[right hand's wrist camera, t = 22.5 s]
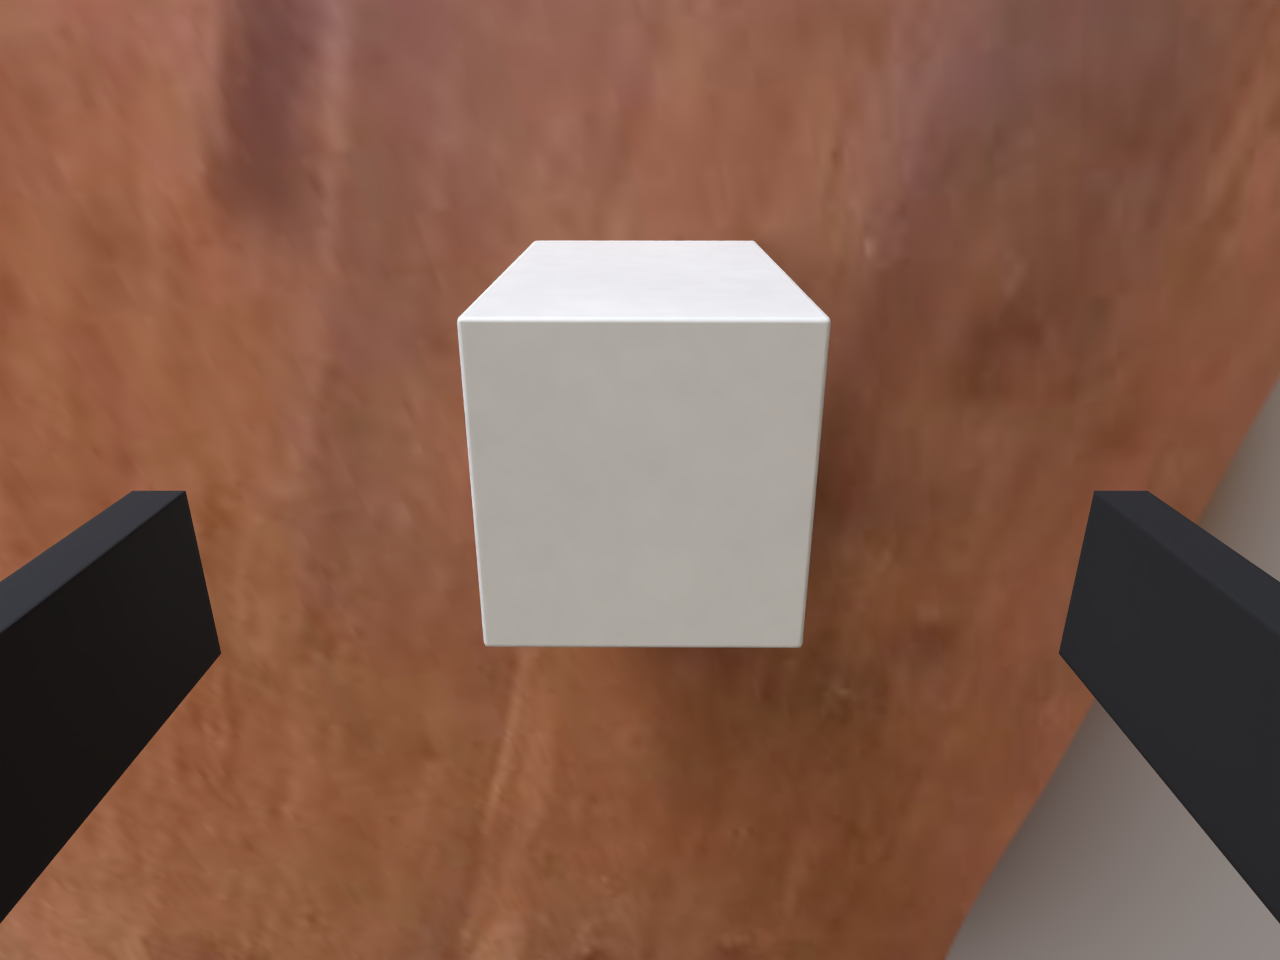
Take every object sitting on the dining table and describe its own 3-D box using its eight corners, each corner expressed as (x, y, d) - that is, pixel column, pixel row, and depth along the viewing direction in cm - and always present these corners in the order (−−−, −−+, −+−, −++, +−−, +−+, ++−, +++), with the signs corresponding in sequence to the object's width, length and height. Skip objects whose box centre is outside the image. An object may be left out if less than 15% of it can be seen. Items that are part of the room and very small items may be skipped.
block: (533, 240, 23) (455, 317, 13) (755, 240, 23) (832, 317, 13) (543, 456, 25) (483, 648, 16) (744, 456, 25) (803, 649, 16)
